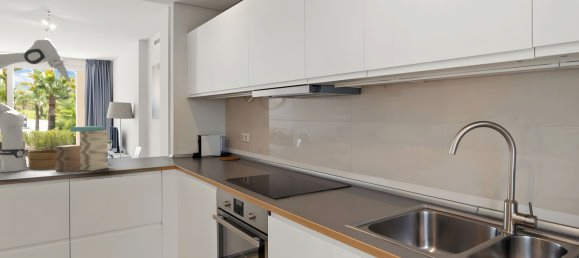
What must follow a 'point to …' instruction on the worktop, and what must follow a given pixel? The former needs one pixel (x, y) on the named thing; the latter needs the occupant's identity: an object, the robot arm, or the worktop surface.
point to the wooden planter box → (41, 159)
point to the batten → (86, 128)
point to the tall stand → (93, 150)
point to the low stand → (67, 157)
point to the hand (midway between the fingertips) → (69, 81)
